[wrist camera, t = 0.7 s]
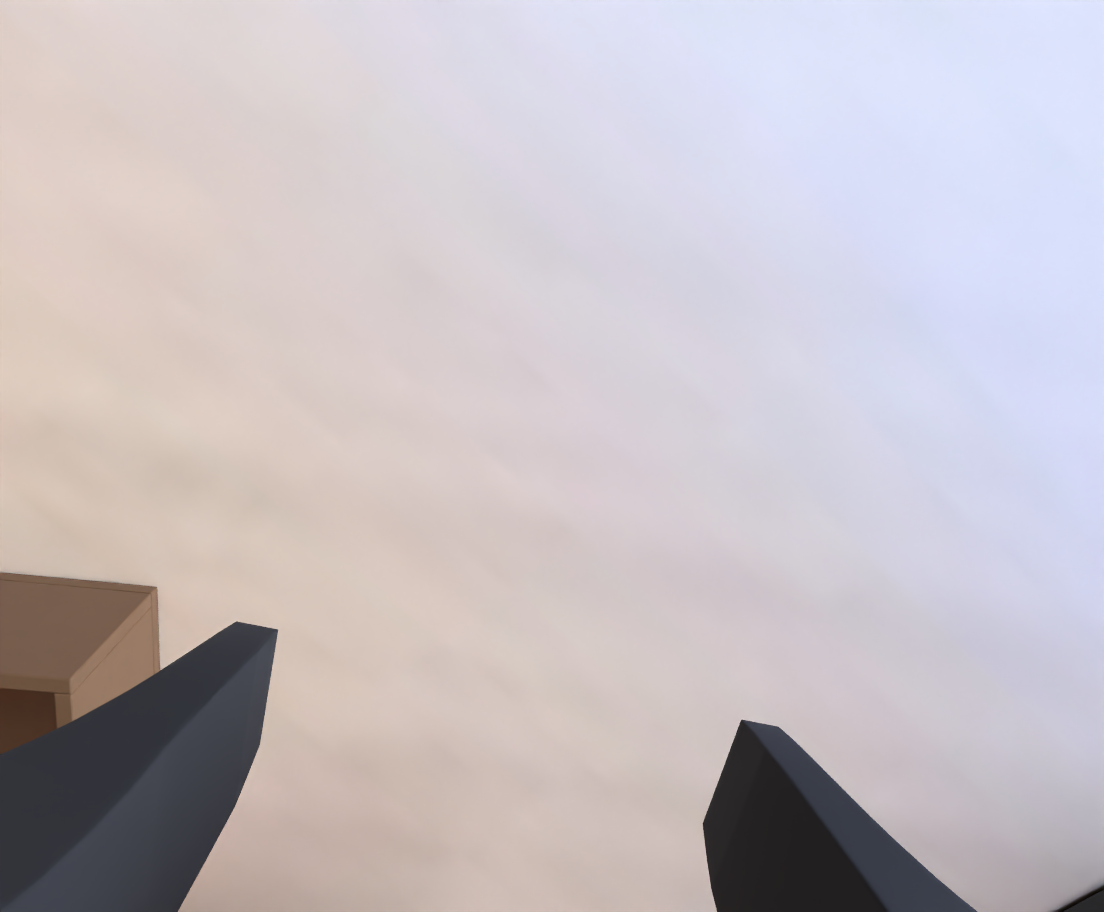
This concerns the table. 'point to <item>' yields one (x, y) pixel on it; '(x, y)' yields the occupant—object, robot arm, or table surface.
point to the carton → (69, 650)
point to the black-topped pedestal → (1090, 904)
